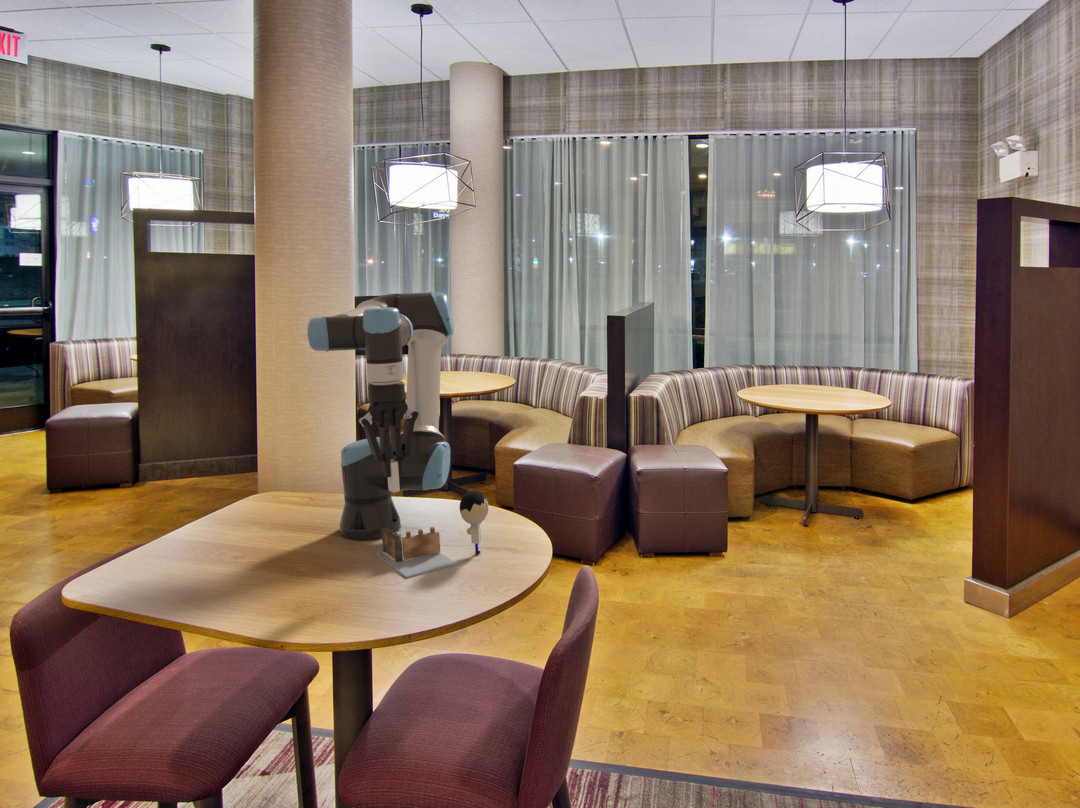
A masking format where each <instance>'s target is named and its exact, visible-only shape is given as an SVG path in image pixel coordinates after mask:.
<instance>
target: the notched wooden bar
mask: <svg viewBox="0 0 1080 808" xmlns="http://www.w3.org/2000/svg"><path fill="white" fill-rule="evenodd" d="M417 532H418V534H414V535H412V533H411V531H405V535H406V536H403V537H402V536H401V541H402V547H403V558H404V559H408V558H413V557H419V556H424V555H429V554H435V553H441V541H440V539H441V538H440V531H438V530H437V531H436V530H435V527H434V526H431V527H430V528H429V532H425V533H424V530H423V529H422V528H418V529H417Z"/></svg>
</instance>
